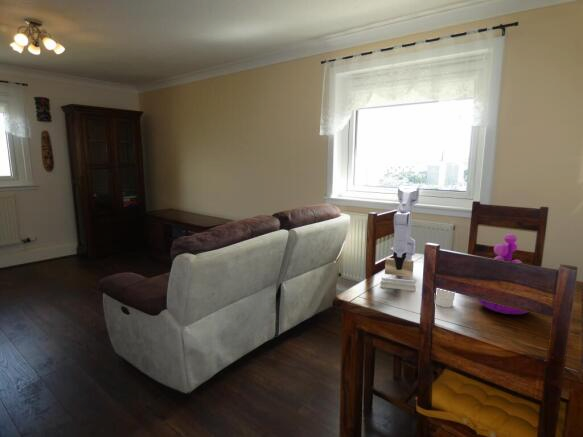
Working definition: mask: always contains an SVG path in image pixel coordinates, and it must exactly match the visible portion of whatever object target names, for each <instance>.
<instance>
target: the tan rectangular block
mask: <svg viewBox="0 0 583 437" xmlns="http://www.w3.org/2000/svg"><path fill="white" fill-rule="evenodd" d="M384 260H385V263H384V266H385V267H384V274H385V275H389V276H390V275H391V276H397V277H398V276H400V277H409V278H413V275H414V274H413V273H414V264H415V263H414V262H415V260H413V259H412V260H404V262H403V266H402V269H401V270H396V264H395V259H394V257H385V259H384Z"/></svg>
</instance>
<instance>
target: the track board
mask: <svg viewBox="0 0 583 437" xmlns="http://www.w3.org/2000/svg"><path fill="white" fill-rule="evenodd" d="M416 282H417V281H416V280H412V279H401V278H392V277H384V276H381V279H380V284H379V285H380V288H388V289H395V290H404V291H411V292H412V291H413V292H416V287H417V285H416Z"/></svg>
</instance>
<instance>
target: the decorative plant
mask: <svg viewBox="0 0 583 437" xmlns="http://www.w3.org/2000/svg"><path fill="white" fill-rule="evenodd" d="M517 240H518V239H517V236H516V235H515V234H514V233H507V234H506V235H505V236H504V242H505V243H507V244H505V243H498V244H496V245H494V247H493V252H494V254H495V255H497V256H495V257H494V258H493V260H494V259H499V260H504V261H511V262H516V263H522V264H523V262H522V261H521V260H519V259H513V260H512V256H513V253H514V252H515V251H517V250H518V244H516V243H517ZM477 301H478V302H479V303H480V305H482V306H483V307H485V308H487V309H489V310H491V311H493V312H497V313H501V314H505V315H523V314H526V313H528V312H527V311H523V310H519V309H515V308H511V307H507V306H502V305H498V304H494V303H490V302H486V301H482V300H479V299H477Z"/></svg>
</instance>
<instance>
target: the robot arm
mask: <svg viewBox="0 0 583 437" xmlns="http://www.w3.org/2000/svg"><path fill="white" fill-rule="evenodd" d="M397 198H398V199H397V200H398V202H399V204H398V205H397V210H396V213H394V215H393V230H394V233H393V234H394V235H393V247H391V248H390V251H393V254H392V258H393V259H395V264H396V270H401V269H402V266H403V262H404V260H413V257H414V256H415V254H416V240H415V239H414V238H412V236H411V230H412V218H413V208H414V206H415V205H417V204H418V203H419V199H420V187H419V186H398V189H397Z"/></svg>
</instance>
